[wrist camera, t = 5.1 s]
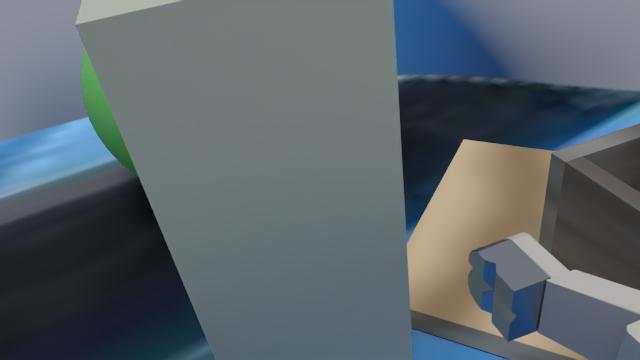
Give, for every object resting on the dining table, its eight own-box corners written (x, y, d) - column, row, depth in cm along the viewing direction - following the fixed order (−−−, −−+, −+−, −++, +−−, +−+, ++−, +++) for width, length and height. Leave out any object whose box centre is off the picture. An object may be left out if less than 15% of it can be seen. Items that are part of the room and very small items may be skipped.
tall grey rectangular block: (262, 472, 18) (75, 24, 9) (239, 371, 21) (88, -21, 12) (415, 408, 19) (390, -47, 10) (369, 323, 22) (319, -70, 13)
